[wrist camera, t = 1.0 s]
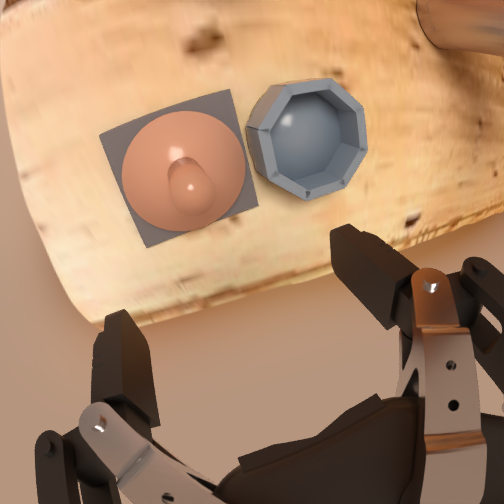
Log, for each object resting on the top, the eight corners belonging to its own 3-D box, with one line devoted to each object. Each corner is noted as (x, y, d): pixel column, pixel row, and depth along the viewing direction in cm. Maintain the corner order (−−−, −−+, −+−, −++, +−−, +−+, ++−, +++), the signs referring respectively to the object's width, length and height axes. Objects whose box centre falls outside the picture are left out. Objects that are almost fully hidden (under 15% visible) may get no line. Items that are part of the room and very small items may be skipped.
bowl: (335, 75, 25) (359, 75, 22) (347, 169, 31) (369, 179, 28) (234, 92, 23) (248, 92, 20) (260, 197, 29) (275, 212, 26)
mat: (228, 89, 23) (229, 89, 22) (256, 203, 30) (258, 205, 29) (100, 134, 21) (98, 135, 21) (146, 245, 28) (146, 248, 27)
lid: (225, 95, 23) (252, 95, 17) (252, 202, 29) (282, 234, 23) (105, 138, 21) (89, 152, 15) (149, 242, 27) (151, 285, 21)
